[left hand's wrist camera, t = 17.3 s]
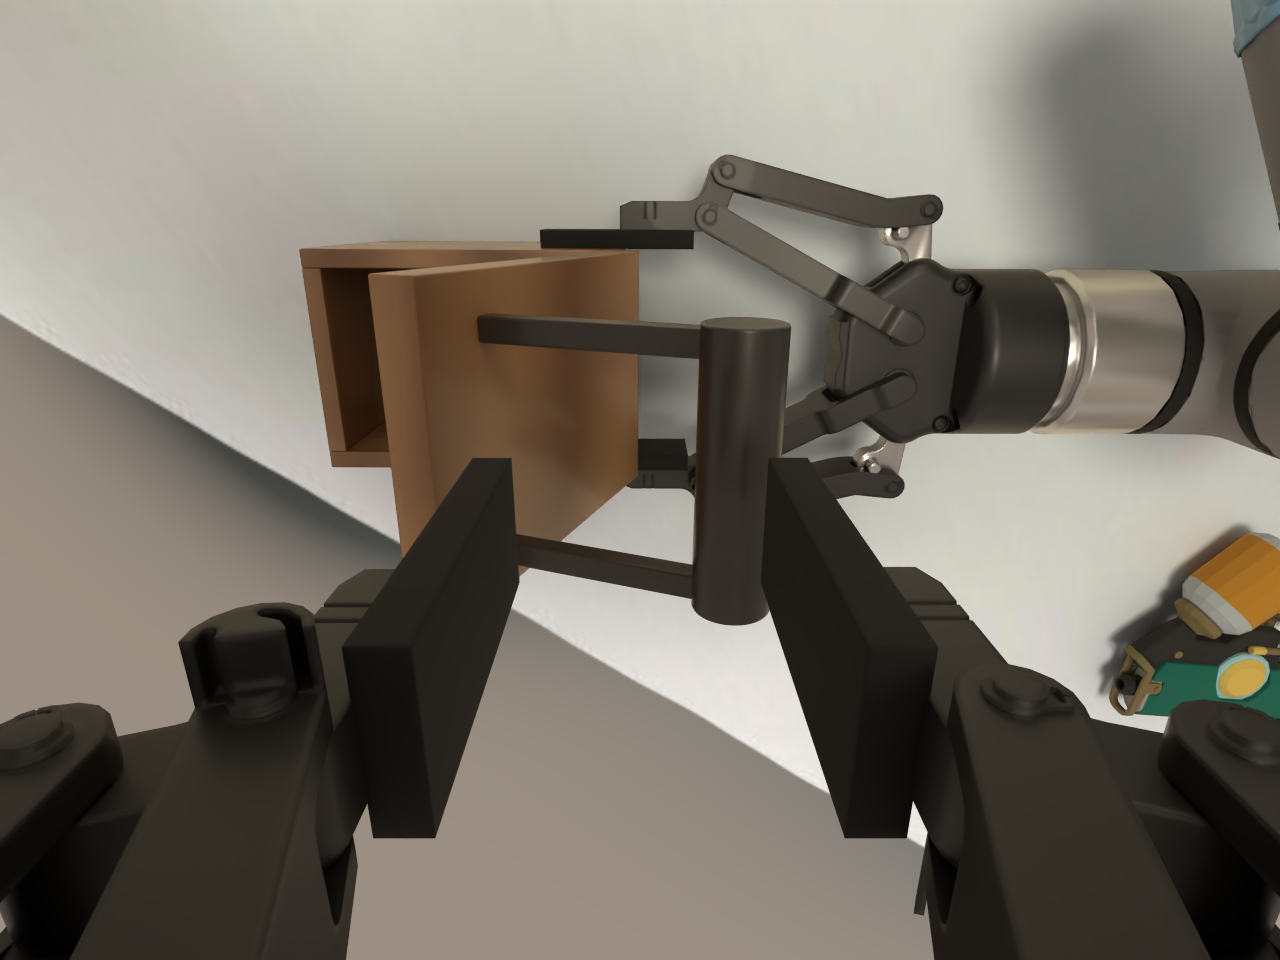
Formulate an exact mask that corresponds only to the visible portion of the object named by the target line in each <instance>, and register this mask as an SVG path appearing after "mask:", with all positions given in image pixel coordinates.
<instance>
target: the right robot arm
mask: <svg viewBox="0 0 1280 960" xmlns="http://www.w3.org/2000/svg"><path fill="white" fill-rule="evenodd" d="M1231 6H1232V14H1233V22H1234V31H1235V39H1234V42H1233V45H1234V52H1235V53H1236V55H1237V57H1238V58H1239V57H1241V58H1242V63H1243V67H1244V71H1245V76H1246V80H1247V84H1248V89H1249V93H1250V97H1251V102H1252V106H1253V110H1254V115H1255V119H1256V123H1257V128H1258V132H1259V136H1260V141H1261V145H1262V149H1263V154H1264V158H1265V162H1266V167H1267V171H1268V176H1269V180H1270V184H1271V189H1272V193H1273V197H1274V202H1275V206H1276V210H1277V215H1278V219H1279V223H1278V225H1279V229H1280V0H1231ZM733 192H734V193H738V194H741V195H745V196H749V197H752V198H756V199H760V200H763V201H767V202H771V203H774V204H778V205H782V206H785V207H789V208H792V209H796V210H800V211H803V212H807V213H811V214H814V215H818V216H822V217H825V218H829V219H832V220H836V221H840V222H843V223H847V224H851V225H855V226H860V227H869V228H878V237H879V239H880V241H881V242H882V243H883V244H885V245H888V246H893V247H895V248H897V249H898V250H899V251H900V254H901V258H902V260H901V261H900V262H898V263H897V264H895V265H894V266H892V267H891V268H889V269H888V270H886V271H885V272H884V273H882V274H881V275H879V276H878V277H876V278H875V279H873V280H872V281H871V282H869V283H868V284H866V285H865V286H861V285H859V284H858V283H856V282H854V281H852V280H850V279H849V278H847V277H845V276H842V275H841V274H839V273H837V272H835V271H833V270H832V269H830V268H828V267H827V266H825V265H823V264H821V263H820V262H818V261H816V260H814V259H813V258H811V257H809V256H807V255H806V254H804V253H802V252H801V251H799V250H797V249H795V248H794V247H792V246H790V245H788V244H787V243H785V242H783V241H781V240H780V239H778V238H776V237H775V236H773V235H771V234H769V233H768V232H766V231H764V230H762V229H761V228H759V227H757V226H756V225H754V224H752V223H750V222H749V221H747V220H745V219H743V218H742V217H740V216H738V215H736V214H735V213H733V212H731V211H730V210H728V209H727V207H728V205H729V202H730V199H731V197H732V194H733ZM942 211H943V204H942V201H941V200H940V198H939V197H937V196H935V195H918V196H906V197H897V198H888V199H887V198H884V197H880V196H877V195H873V194H870V193H866V192H862V191H859V190H855V189H852V188H848V187H844V186H841V185H837V184H834V183H830V182H827V181H823V180H819V179H816V178H812V177H809V176H805V175H801V174H798V173H794V172H791V171H787V170H784V169H780V168H776V167H773V166H769V165H766V164H762V163H758V162H755V161H751V160H748V159H744V158H741V157H737V156H733V155H724V156H721V157H720V158H718V159H717V160H716V161H714V162H713V163H712V164H711V166H710V168H709V170H708V174H707V177H706V180H705V182H704V185H703V188H702V190H701V192H700V194H699V195H698V196H697V197H696V198H695V199H694V200H692V201H631V202H629V203H627V204H624V205H622V206H620V229H543V230H540V242H541V248H624V249H693V244H694V231H703V232H704V233H706V234H708V235H710V236H711V237H713V238H715V239H717V240H718V241H720V242H722V243H724V244H725V245H727V246H729V247H731V248H733V249H734V250H736V251H738V252H740V253H741V254H743V255H745V256H747V257H748V258H750V259H752V260H754V261H755V262H757V263H759V264H761V265H762V266H764V267H766V268H768V269H769V270H771V271H773V272H775V273H777V274H778V275H780V276H782V277H784V278H785V279H787V280H789V281H791V282H792V283H794V284H796V285H798V286H799V287H801V288H803V289H805V290H806V291H808V292H810V293H812V294H813V295H815V296H817V297H818V298H820V299H822V300H824V301H825V302H827V303H829V304H831V305H832V306H834V307H836V308H837V309H836V311H835V313H834V315H833V316H830V318H829V329H828V334H829V340H830V346H831V350H830V353H829V356H828V359H827V362H826V364H825V373H824V381H825V382H826V383H827V385H826V386H824V387H822V388H820V389H818V390H816V391H814V392H812V393H810V394H809V395H807V396H806V398H805V399H804V400H802V401H800V402H798V403H796V404H794V405H792V406H790V407H788V408H786V409H785V415H784V428H783V442H782V455H783V454H785V453H787V452H789V451H791V450H793V449H795V448H797V447H799V446H801V445H803V444H806V443H808V442H810V441H812V440H814V439H816V438H818V437H820V436H822V435H825V434H834V433H837V432H840V431H842V430H844V429H846V428H848V427H850V426H852V425H854V424H856V423H858V422H860V421H862V422H864V423H865V424H866V425H868V426H869V427H870V428H872V429H873V430H874V431H876V432H877V433H878V434H879V435H880V437H879V439H878V440H877V442H876V443H874V444H873V445H871V446H866V447H862V448H859V449H858V450H857V451H856V452H855V454H854V456H853V457H850V456H845V457H835V458H829V459H825V460H820V461H816V462H812V463H811V464H812V465H813V467H814V468H815V470H816V471H817V472H818V474H819V475H820V477H821V478H822V480H823V481H824V483H825V484H826V485H827V487H828V488H829V490H830V491H831V493H832V494H833V496H834V497H835V498H836V499H839V498H843V497H848V496H852V495H862V496H871V497H881V498H895V497H897V496H899V495H900V494H901V493H902V492H903V490H904V484H905V483H904V481H903V479H902V478H901V477H900V476H899V475H898V472H899V468H900V464H901V460H902V456H903V452H904V448H905V444H906V443H908V442H911V441H913V440H915V439H917V438H919V437H921V436H924V435H927V434H932V433H945V434H1019V433H1023V432H1026V431H1028V430H1030V431H1032V432H1033V433H1038V434H1106V433H1126V434H1142V433H1150V434H1199V435H1209V436H1215V437H1220V438H1224V439H1227V440H1230V441H1233V442H1235V443H1238V444H1241V445H1243V446H1246V447H1249V448H1251V449H1254V450H1256V451H1259V452H1262V453H1264V454H1267V455H1270V456H1273V457H1275V458H1278V459H1280V270H1221V271H1174V272H1163V271H1157V270H1086V269H1060V270H1051V271H1049V272H1047V273H1043V272H1041V271H1038V270H1035V269H948V268H946V267H944V266H942V265H940V264H939V263H937V262H936V261H934V260H931V244H932V224H933V223H935V222H936V221H937V220H938V219H939V218H940V216H941V215H942ZM695 473H696V453H694V454H692V455H691V456H688V454H687V448H686V443H685V439H638V476H636V477H635V478H634V479H633V480H632V481H631V482H629V483H628V484H627V485H626V486H627V487H630V488H680V489H685V490H688V491H689V492H691V493H692V494H693V496H694V498H695Z"/></svg>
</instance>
